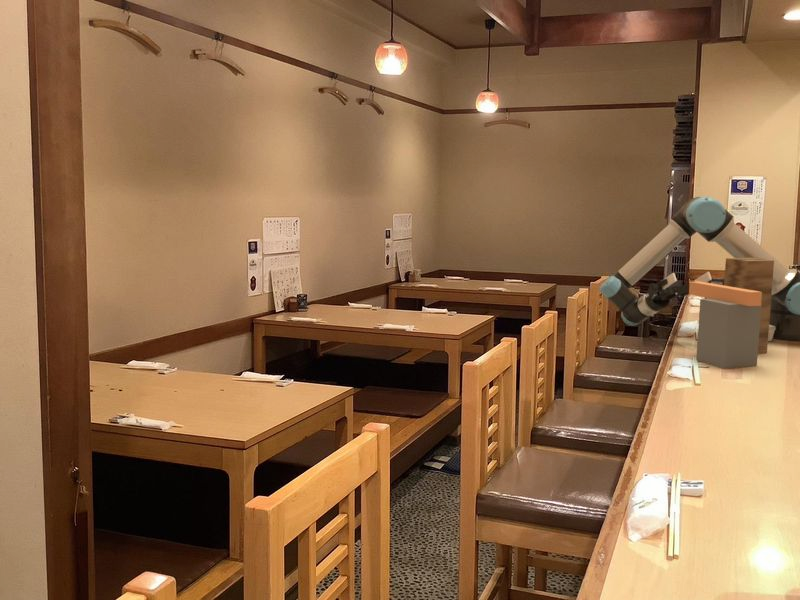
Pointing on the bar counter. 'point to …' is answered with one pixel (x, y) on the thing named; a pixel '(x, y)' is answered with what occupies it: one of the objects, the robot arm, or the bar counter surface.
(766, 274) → the tall post
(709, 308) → the low post
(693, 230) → the robot arm
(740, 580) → the bar counter surface
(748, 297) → the beam
